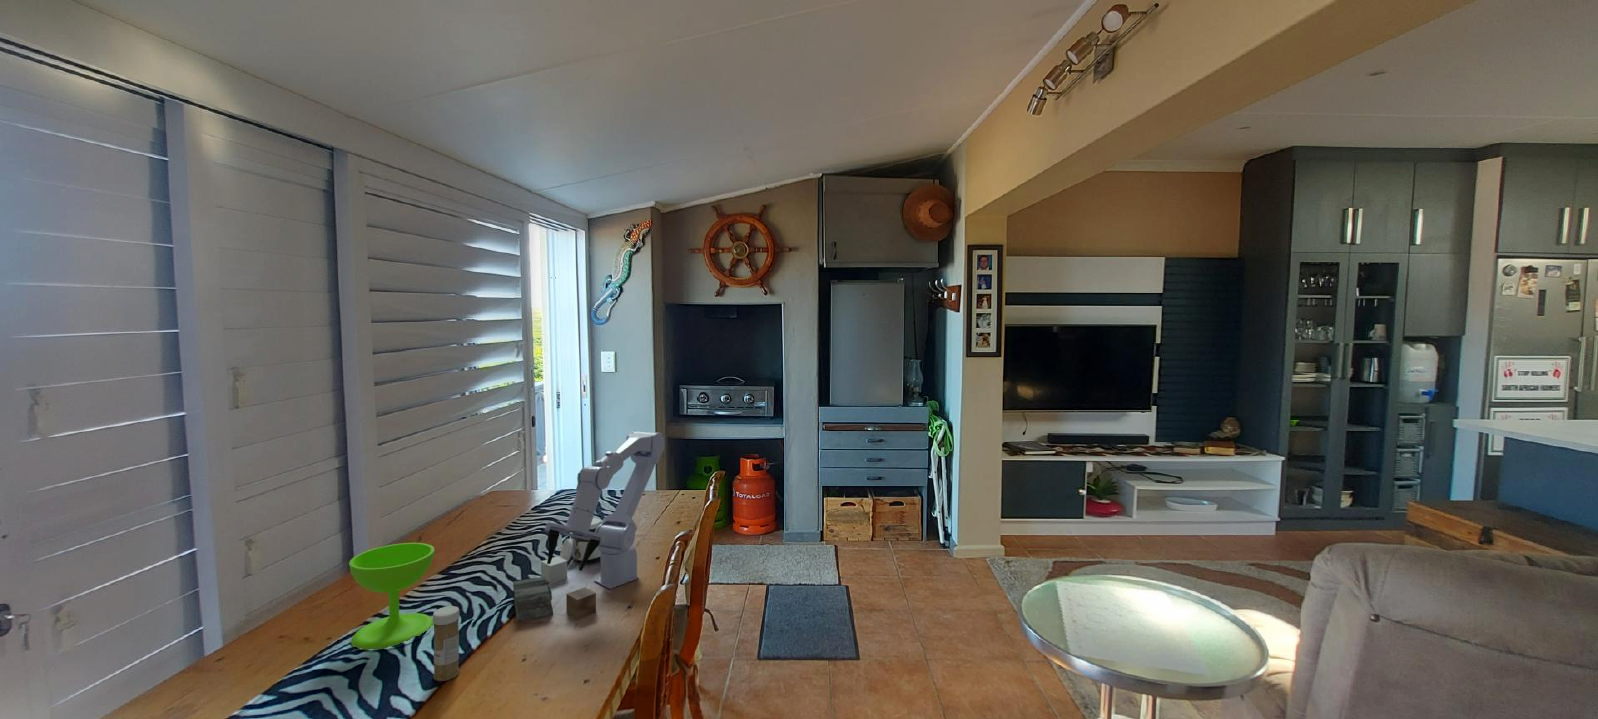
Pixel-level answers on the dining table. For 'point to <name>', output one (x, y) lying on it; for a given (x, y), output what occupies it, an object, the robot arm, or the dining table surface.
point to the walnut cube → (581, 603)
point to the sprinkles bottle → (446, 643)
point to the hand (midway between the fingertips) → (564, 567)
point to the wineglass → (392, 591)
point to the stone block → (532, 598)
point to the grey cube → (554, 569)
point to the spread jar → (580, 546)
